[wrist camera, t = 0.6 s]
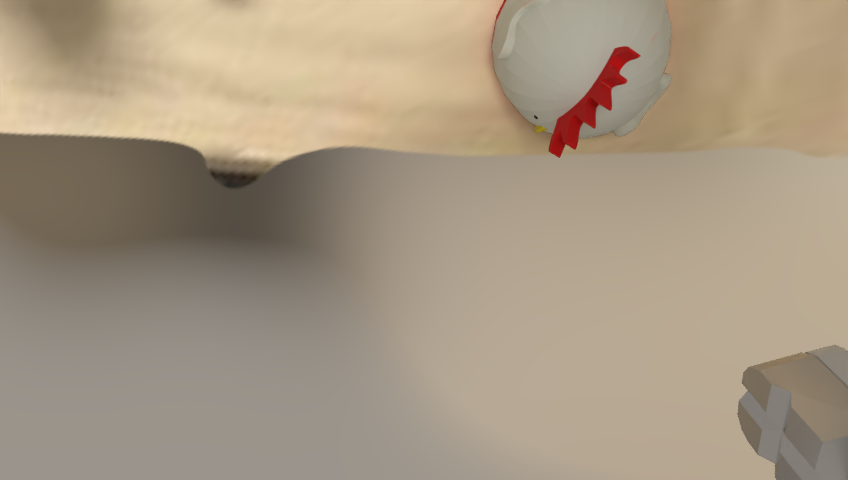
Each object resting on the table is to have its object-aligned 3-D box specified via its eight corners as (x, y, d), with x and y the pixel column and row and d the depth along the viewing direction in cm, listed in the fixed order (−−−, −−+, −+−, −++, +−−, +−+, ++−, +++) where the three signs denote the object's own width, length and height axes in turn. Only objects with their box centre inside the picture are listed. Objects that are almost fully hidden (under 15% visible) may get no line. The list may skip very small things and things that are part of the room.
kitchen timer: (461, 63, 52) (445, 141, 40) (562, -91, 44) (579, -51, 32) (588, 144, 55) (609, 240, 43) (704, 14, 47) (769, 86, 35)
